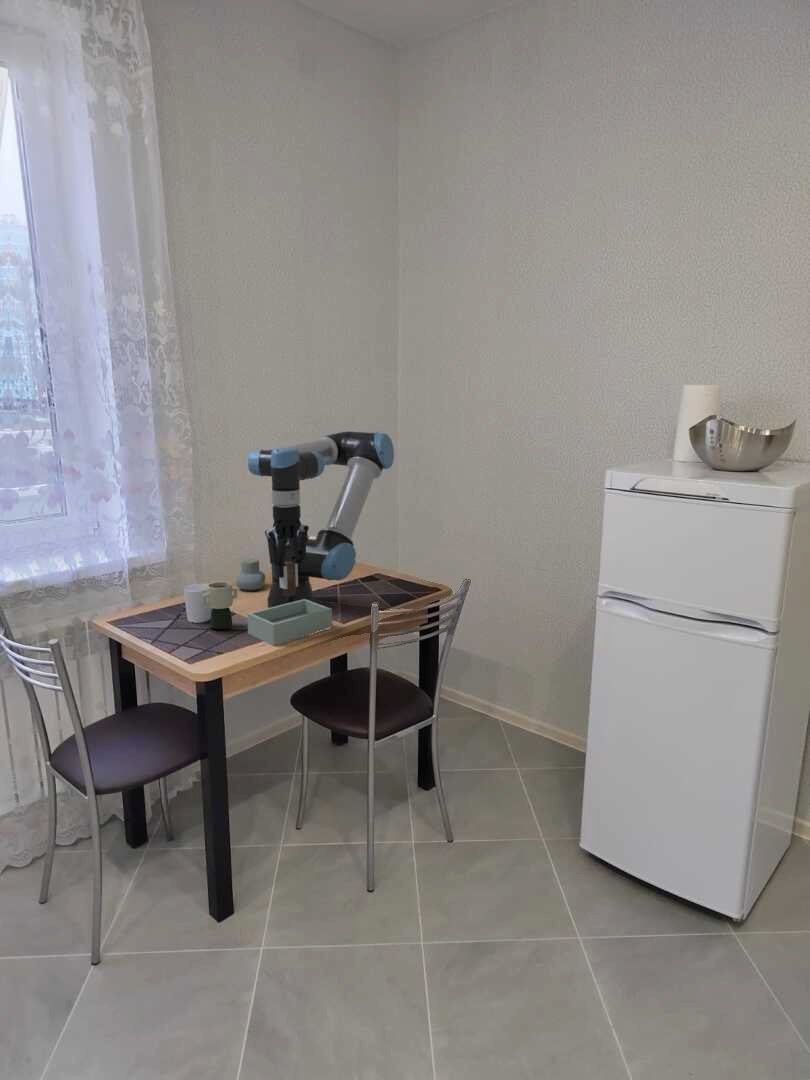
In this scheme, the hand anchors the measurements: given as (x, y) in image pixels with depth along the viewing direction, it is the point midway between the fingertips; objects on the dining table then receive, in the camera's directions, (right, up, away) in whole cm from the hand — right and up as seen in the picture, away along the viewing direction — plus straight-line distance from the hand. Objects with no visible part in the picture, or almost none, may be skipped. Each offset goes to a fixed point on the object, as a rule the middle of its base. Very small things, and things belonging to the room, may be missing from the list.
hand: (288, 586), depth 201 cm
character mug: (-20, -12, +6) cm, 25 cm away
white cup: (-29, -11, +13) cm, 33 cm away
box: (0, -13, +3) cm, 13 cm away
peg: (0, -2, 0) cm, 2 cm away
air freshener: (-20, -4, +44) cm, 49 cm away
